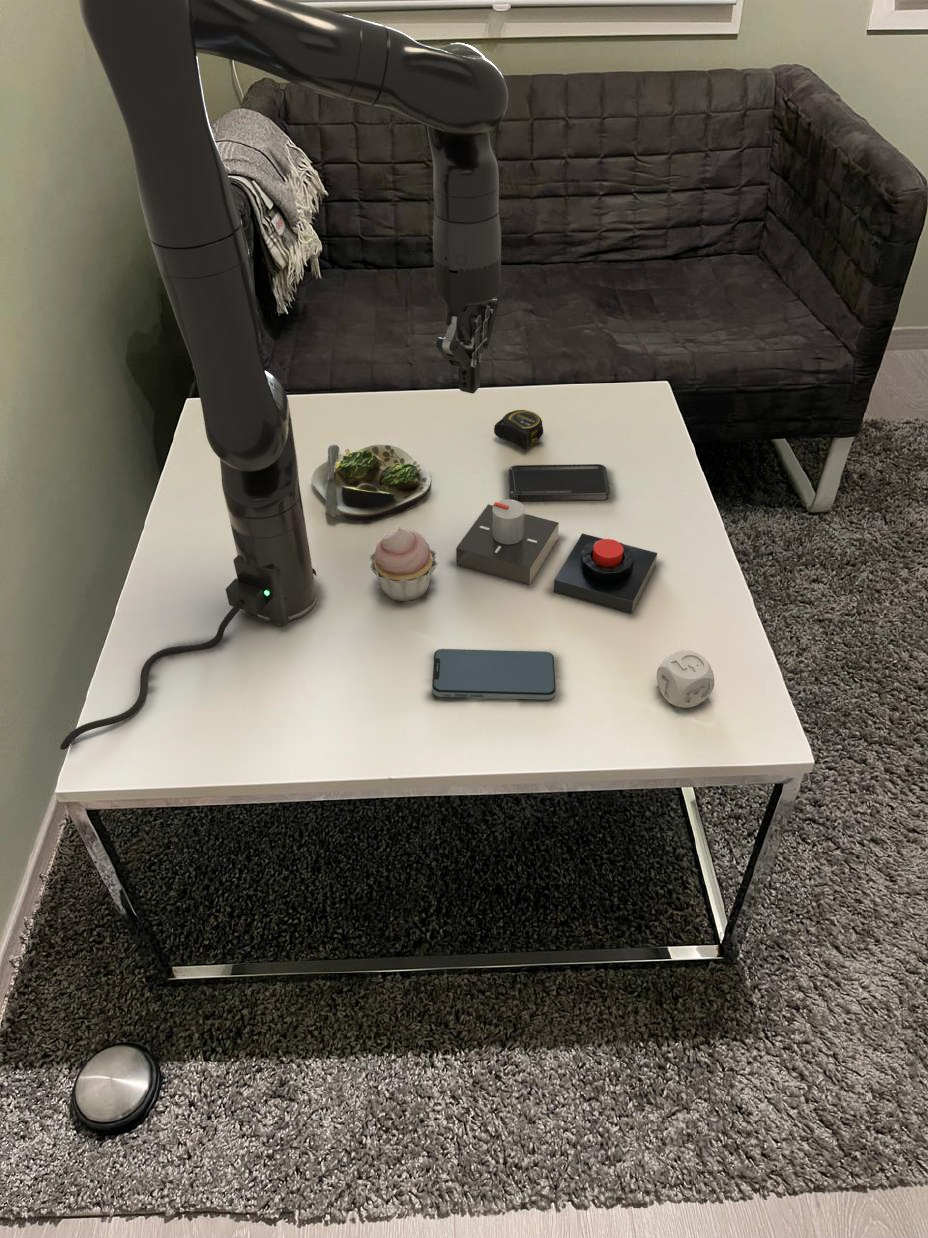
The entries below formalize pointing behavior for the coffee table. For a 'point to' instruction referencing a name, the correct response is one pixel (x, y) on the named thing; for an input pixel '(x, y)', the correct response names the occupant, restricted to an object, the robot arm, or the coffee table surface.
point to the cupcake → (403, 564)
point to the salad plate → (370, 482)
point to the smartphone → (493, 674)
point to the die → (685, 678)
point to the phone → (558, 482)
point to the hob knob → (508, 521)
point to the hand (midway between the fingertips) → (469, 389)
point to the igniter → (605, 576)
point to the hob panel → (507, 548)
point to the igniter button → (607, 553)
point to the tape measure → (520, 428)
